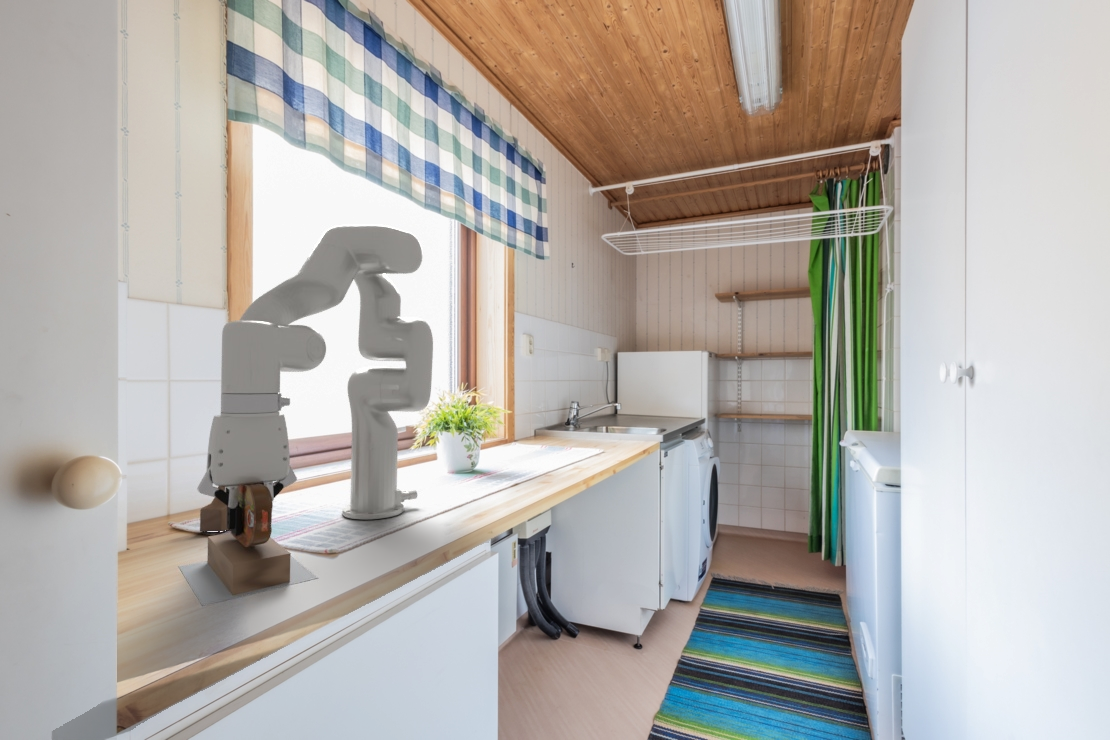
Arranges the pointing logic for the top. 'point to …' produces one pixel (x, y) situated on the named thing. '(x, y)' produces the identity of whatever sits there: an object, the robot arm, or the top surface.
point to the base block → (248, 563)
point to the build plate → (215, 591)
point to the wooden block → (214, 516)
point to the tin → (255, 514)
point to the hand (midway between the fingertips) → (248, 530)
